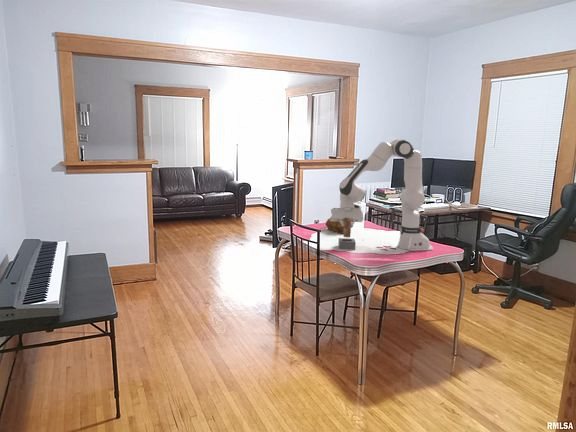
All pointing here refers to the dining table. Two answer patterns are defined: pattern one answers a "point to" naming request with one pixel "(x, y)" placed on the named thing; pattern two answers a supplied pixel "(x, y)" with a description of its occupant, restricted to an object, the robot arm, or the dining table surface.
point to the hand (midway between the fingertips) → (347, 226)
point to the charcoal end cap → (346, 243)
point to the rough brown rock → (335, 225)
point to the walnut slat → (347, 227)
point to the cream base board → (361, 248)
